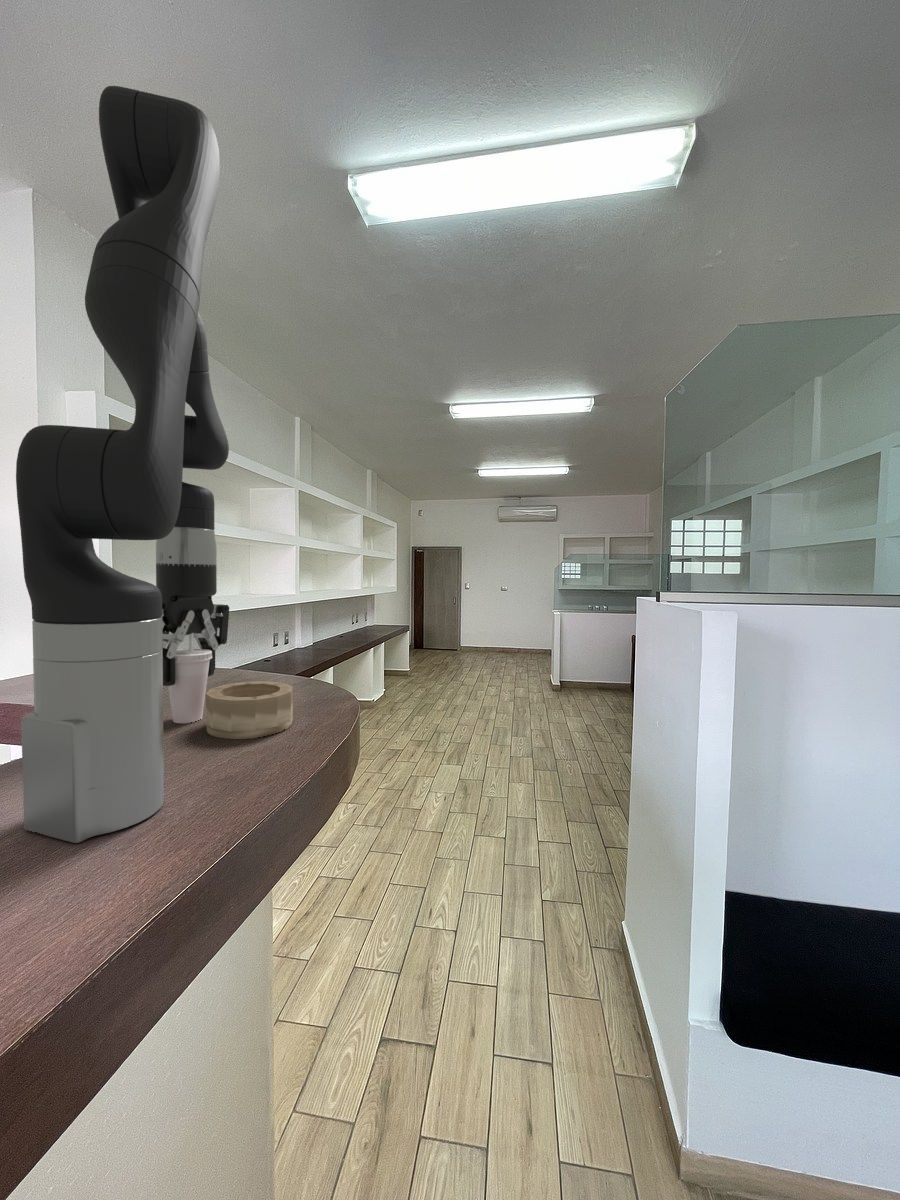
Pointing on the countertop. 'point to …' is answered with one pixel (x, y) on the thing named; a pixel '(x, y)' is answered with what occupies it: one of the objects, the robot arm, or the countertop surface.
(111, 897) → the countertop surface
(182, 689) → the smoothie
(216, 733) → the ring
